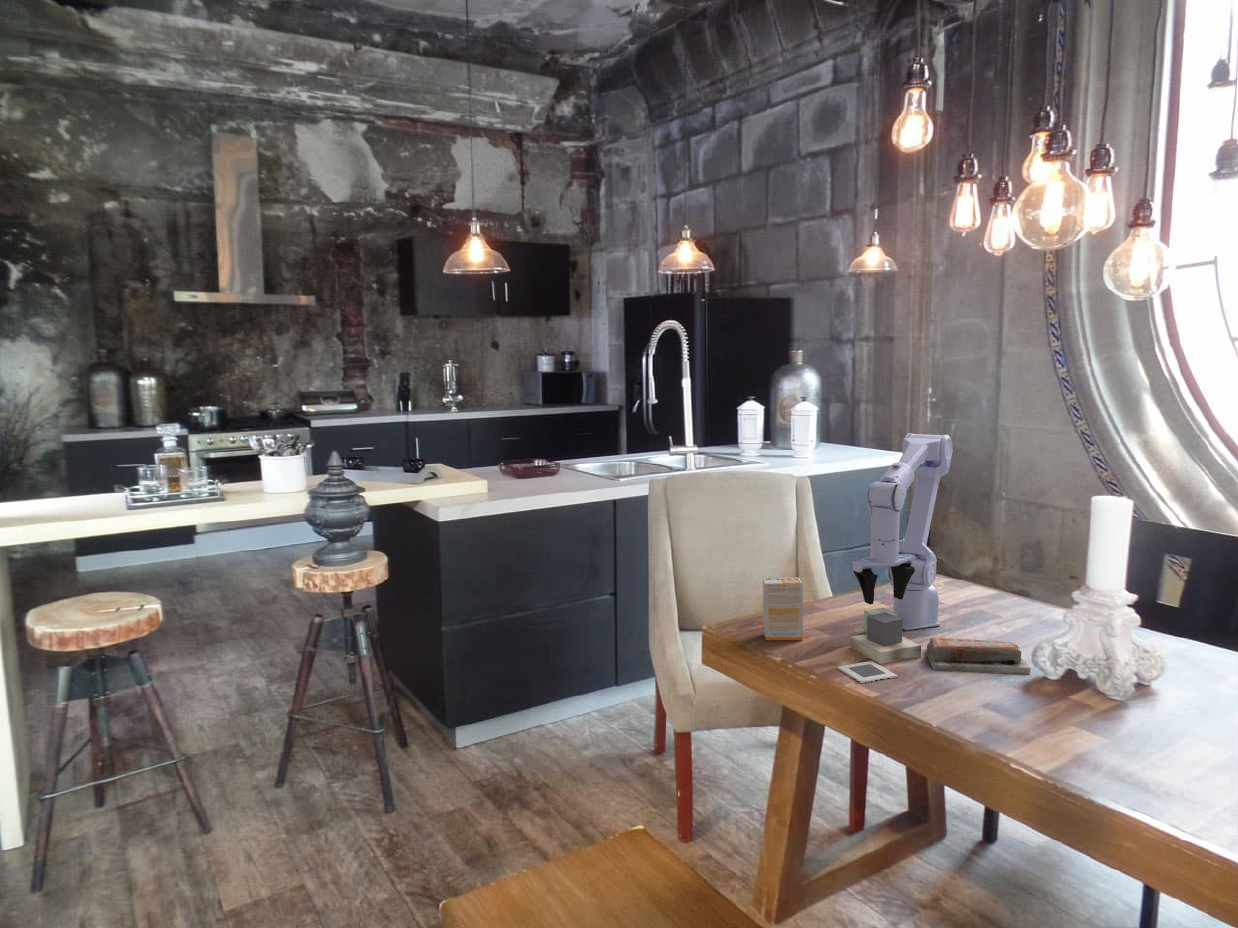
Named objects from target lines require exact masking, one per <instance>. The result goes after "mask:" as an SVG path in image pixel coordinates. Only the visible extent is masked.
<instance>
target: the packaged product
mask: <svg viewBox="0 0 1238 928" xmlns="http://www.w3.org/2000/svg"><path fill="white" fill-rule="evenodd" d="M924 653H925V655H926V657H927V659H928V662H929V663H930V665H931V667H932V669H933V670H935V671H954V672H955V671H956V672H957V671H958V672H969V673H970V672H973V673H994V674H1020V675H1023V674H1024V675H1025V674H1026V675H1030V674H1031V670H1032V668H1031V666H1029V665H1028V663H1027V662H1026V661H1024V660H1023V658H1022V651H1021V649H1020V647H1019V645H1018V644H1017V643H1015V642H1014V643H1013V642H1011V641H1005V640H988V639H986V640H985V639H968V638H951V637H950V638H949V637H946V638H945V637H931V638H930V640H929V642H928V643H927V645H926V648H925V649H924Z"/></svg>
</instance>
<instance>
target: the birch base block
mask: <svg viewBox="0 0 1238 928" xmlns="http://www.w3.org/2000/svg"><path fill="white" fill-rule="evenodd" d="M849 638H850V645H849V646H850V647H849V648H850V649H851V650H853V649H854V650H853V651H855V652H856V653H858V654H860V653H861V654H860V655H862V656H864V657H866V658H868V659H870V661H873V662H875V663H876V664H878V665H882V664H883V665H884V664H890V663H895V662H899V661H900V662H901V661H906V660H911V659H912V658H913V659H917V658H918V659H919V658H921V657H922V645H921V644H919V643H918V642H916V641H913V640H912V639H909V638H907V637H905V636H903V635H902V642H901V643H897V644H892V645H888V646H882V645H879V644H877V643H875V642H872V641H870V640H867V633H865V634H858V635H852V636H850V637H849Z"/></svg>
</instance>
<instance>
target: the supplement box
mask: <svg viewBox="0 0 1238 928" xmlns="http://www.w3.org/2000/svg"><path fill="white" fill-rule="evenodd" d="M762 579H763V580H762V585H763V587H762V589H763V591H762V593H763V594H762V595H763V596H762V598H763V600H762V601H763V604H762V605H763V635H764V638H765V641H803V640H804V634H803V633H804V630H803V629H804V625H803V623H804V621H803V620H804V619H803V618H804V617H803V615H804V614H803V613H804V611H803V609H804V608H803V602H804V601H803V598H804V597H803V596H804V595H803V593H804V592H803V590H804V589H803V587H804V586H803V582H802V580H801V577H763V578H762Z"/></svg>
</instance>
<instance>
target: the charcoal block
mask: <svg viewBox="0 0 1238 928" xmlns="http://www.w3.org/2000/svg"><path fill="white" fill-rule="evenodd" d="M903 630H904V629H903V619H902V618H899V617H897V616H894V615H891V614H889V613H886V612H884V613H879V614H874V615H870V616H867V633H866V634H867V640H870V641H872V642H875V643H877V644H879V645H882V646H888V645H892V644H897V643H901V642H902V636H903Z"/></svg>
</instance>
